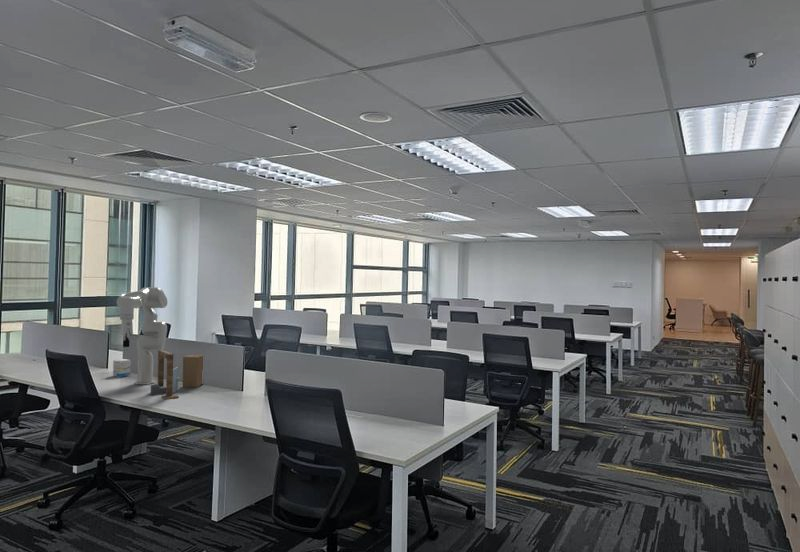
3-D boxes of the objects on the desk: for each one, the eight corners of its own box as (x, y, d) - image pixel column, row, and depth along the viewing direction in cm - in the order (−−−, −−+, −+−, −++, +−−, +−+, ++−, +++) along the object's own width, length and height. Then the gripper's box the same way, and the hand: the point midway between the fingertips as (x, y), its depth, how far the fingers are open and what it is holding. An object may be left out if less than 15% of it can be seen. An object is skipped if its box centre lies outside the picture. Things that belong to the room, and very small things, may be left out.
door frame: (151, 390, 344) (152, 349, 344) (164, 388, 348) (165, 348, 349) (164, 399, 319) (165, 355, 319) (178, 397, 324) (179, 354, 324)
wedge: (150, 392, 336) (150, 384, 336) (171, 391, 342) (171, 383, 343) (152, 394, 331) (152, 386, 331) (172, 392, 338) (173, 384, 338)
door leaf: (176, 390, 344) (176, 367, 344) (179, 390, 344) (180, 367, 344) (167, 396, 326) (167, 371, 327) (170, 396, 327) (171, 371, 327)
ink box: (130, 375, 390) (131, 359, 390) (119, 377, 383) (119, 361, 383) (124, 374, 394) (124, 358, 394) (112, 376, 387) (113, 359, 387)
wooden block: (203, 384, 364) (204, 355, 364) (196, 387, 354) (197, 357, 354) (189, 384, 365) (190, 354, 365) (182, 386, 355) (182, 356, 355)
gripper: (136, 317, 328) (135, 347, 328) (130, 316, 339) (130, 345, 339) (122, 318, 323) (121, 348, 323) (117, 316, 335) (117, 345, 335)
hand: (126, 346), depth 331 cm, fingers closed
